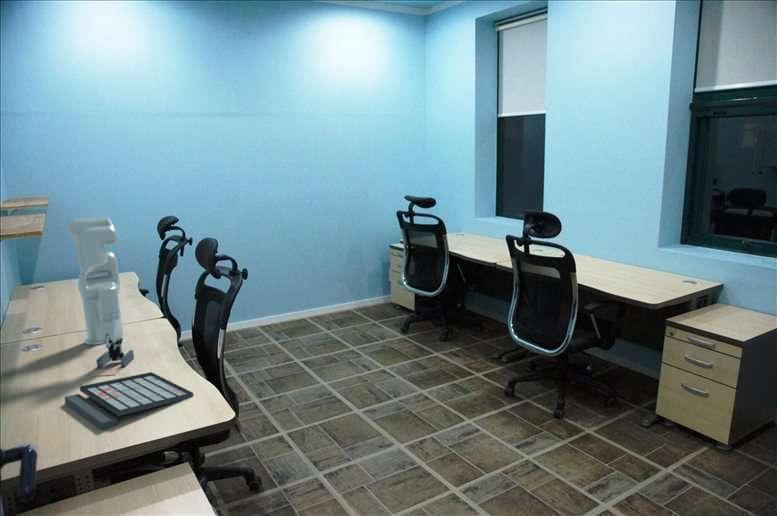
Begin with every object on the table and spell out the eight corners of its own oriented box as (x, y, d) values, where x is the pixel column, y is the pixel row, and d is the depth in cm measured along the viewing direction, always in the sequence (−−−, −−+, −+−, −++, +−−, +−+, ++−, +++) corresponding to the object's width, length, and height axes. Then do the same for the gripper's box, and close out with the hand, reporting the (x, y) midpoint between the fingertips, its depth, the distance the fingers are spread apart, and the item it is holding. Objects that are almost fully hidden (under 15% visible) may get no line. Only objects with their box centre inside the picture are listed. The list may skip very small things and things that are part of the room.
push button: (107, 363, 225) (104, 341, 223) (107, 359, 229) (104, 337, 227) (125, 360, 228) (122, 338, 226) (125, 356, 232) (122, 334, 230)
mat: (97, 370, 221) (97, 369, 221) (122, 368, 222) (121, 368, 222) (89, 376, 215) (89, 376, 214) (115, 375, 215) (115, 374, 215)
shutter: (151, 389, 215) (65, 408, 191) (151, 372, 215) (64, 389, 191) (193, 407, 195) (102, 431, 171) (193, 388, 194) (102, 410, 170)
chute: (108, 359, 232) (106, 351, 231) (134, 358, 233) (132, 349, 232) (97, 368, 222) (96, 359, 222) (124, 367, 223) (123, 358, 222)
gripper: (110, 309, 232) (115, 349, 236) (92, 321, 216) (98, 364, 220) (127, 309, 233) (132, 348, 237) (111, 320, 217) (117, 363, 220)
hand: (116, 355), depth 228 cm, fingers closed on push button, 3 cm apart
